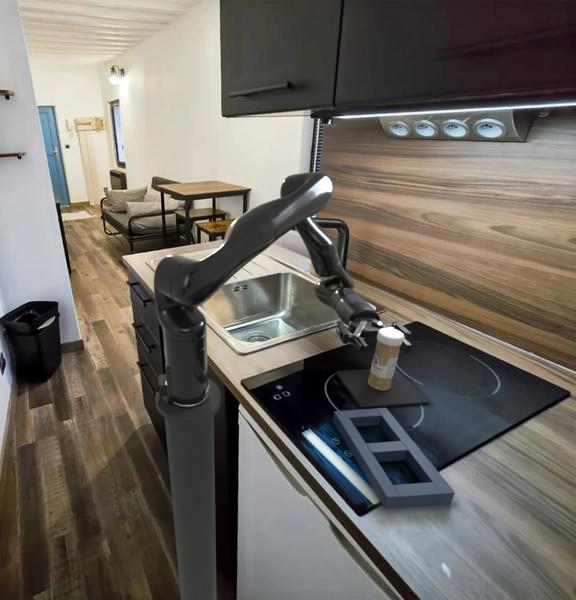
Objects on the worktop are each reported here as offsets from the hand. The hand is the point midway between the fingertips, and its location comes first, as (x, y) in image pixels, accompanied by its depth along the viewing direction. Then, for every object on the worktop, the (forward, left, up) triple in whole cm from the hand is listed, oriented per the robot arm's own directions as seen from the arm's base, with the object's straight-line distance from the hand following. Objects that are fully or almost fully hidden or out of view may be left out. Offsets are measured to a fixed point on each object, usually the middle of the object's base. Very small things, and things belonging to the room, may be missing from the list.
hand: (386, 350), depth 76 cm
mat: (0, 0, -9) cm, 10 cm away
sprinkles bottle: (0, 0, -9) cm, 9 cm away
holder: (-9, -18, -9) cm, 23 cm away
